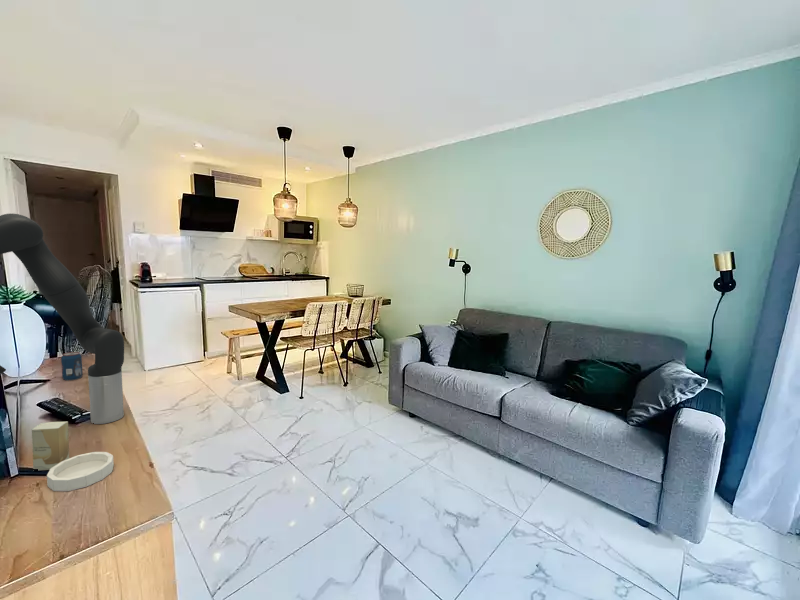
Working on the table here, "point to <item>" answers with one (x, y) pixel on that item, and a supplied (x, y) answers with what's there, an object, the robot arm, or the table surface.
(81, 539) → the table surface
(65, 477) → the ceramic dish
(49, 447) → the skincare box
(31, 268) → the robot arm
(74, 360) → the blue carton
